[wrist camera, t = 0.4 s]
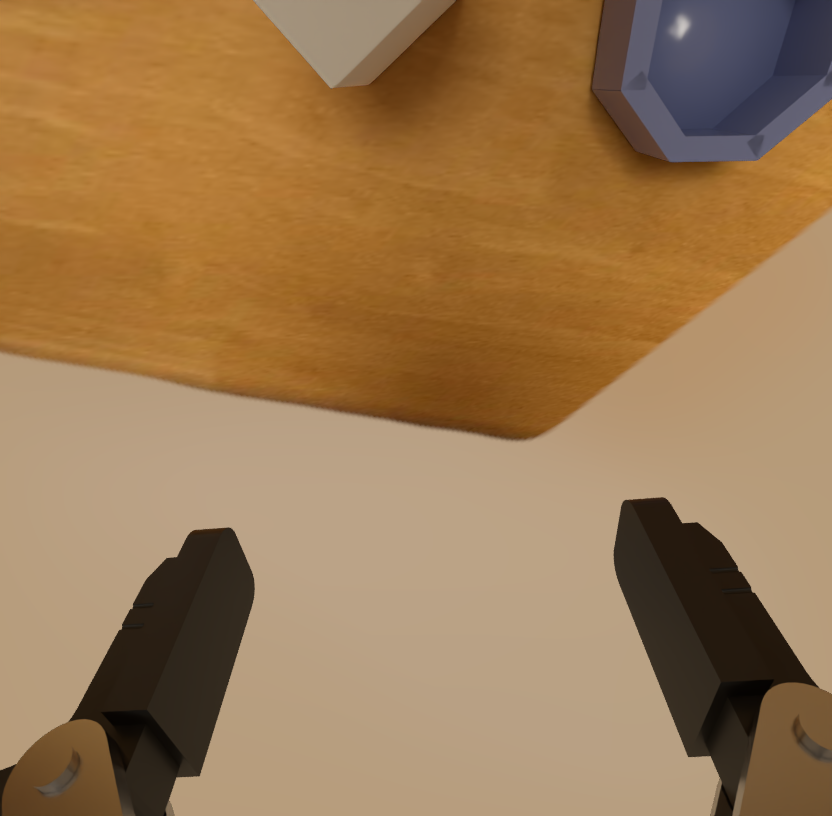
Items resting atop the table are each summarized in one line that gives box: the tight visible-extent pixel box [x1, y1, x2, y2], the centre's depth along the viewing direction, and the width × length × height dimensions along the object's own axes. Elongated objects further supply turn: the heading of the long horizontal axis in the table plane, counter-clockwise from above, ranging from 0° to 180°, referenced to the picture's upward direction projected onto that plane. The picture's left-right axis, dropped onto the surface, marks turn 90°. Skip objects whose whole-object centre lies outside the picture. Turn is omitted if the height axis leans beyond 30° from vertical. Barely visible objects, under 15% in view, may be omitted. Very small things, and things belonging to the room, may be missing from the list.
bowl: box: [592, 0, 832, 162], centre depth 26 cm, size 11×11×6 cm
